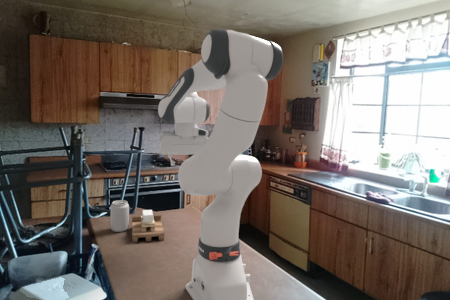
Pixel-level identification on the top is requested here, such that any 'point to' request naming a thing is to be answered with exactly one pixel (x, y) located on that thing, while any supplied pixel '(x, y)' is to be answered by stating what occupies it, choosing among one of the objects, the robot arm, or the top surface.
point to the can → (119, 216)
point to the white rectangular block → (147, 216)
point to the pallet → (147, 225)
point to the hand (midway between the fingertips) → (184, 165)
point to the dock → (148, 233)
